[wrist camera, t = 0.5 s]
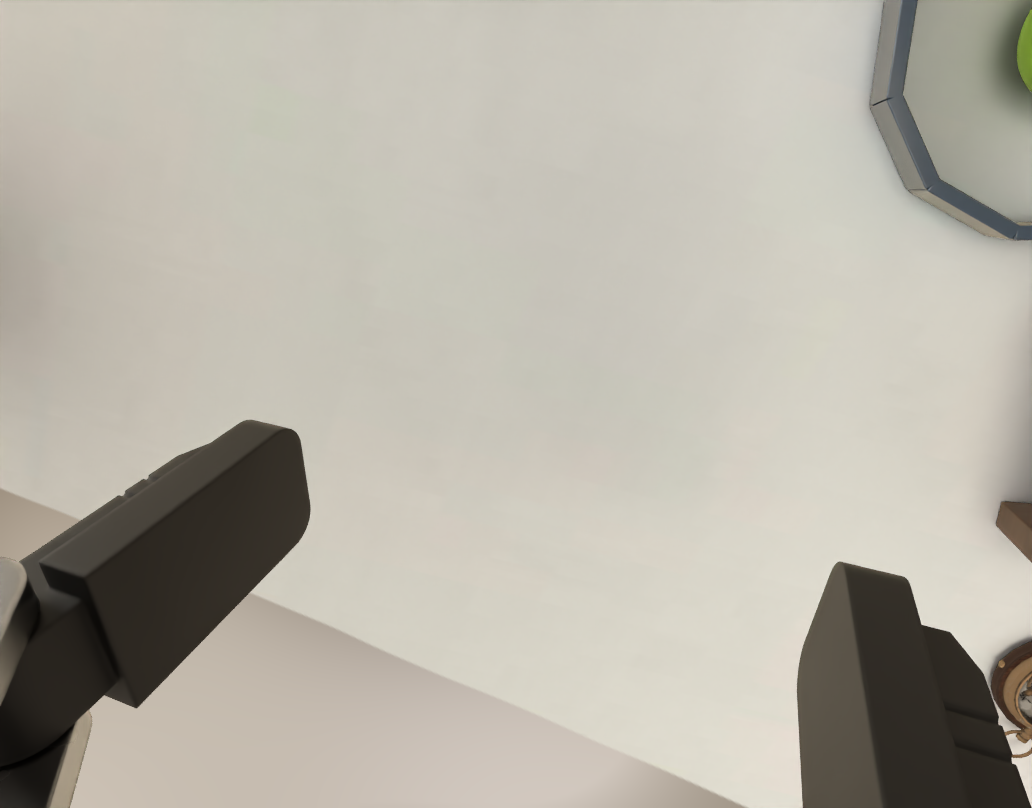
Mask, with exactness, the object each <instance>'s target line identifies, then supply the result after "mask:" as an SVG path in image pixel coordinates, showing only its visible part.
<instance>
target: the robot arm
mask: <svg viewBox="0 0 1032 808" xmlns="http://www.w3.org/2000/svg"><path fill="white" fill-rule="evenodd" d="M309 518H310V500H309V493H308V487H307V480H306V474H305V467H304V460H303V454H302V447H301V442H300V438H299V436H298V434H297V433H296V432H295V431H294V430H292V429H288V428H284V427H280V426H276V425H272V424H267V423H263V422H259V421H255V420H246V421H243V422H241V423H239V424H238V425H236V426H235V427H233V428H232V429H230V430H229V431H227V432H226V433H224V434H223V435H222V436H220V437H219V438H217V439H216V440H214V441H213V442H211V443H209V444H207V445H204V446H202V447H199V448H197V449H194V450H192V451H189V452H187V453H184V454H181V455H179V456H177V457H175V458H174V459H172V460H171V461H169V462H168V463H166V464H165V465H163V466H162V467H160V468H159V469H157V470H156V471H154V472H153V473H151V474H150V475H149V478H148V479H147V480H145V479H142V480H141V481H139V482H138V483H136V484H135V485H133V486H132V487H130V488H129V489H127V490H126V491H125V494H124V496H117V497H116V498H114V499H113V500H111V501H110V502H108V503H107V504H105V505H104V506H102V507H101V508H99V509H98V510H96V511H95V512H93V513H92V514H90V515H89V516H87V517H86V518H84V519H83V520H81V521H80V522H78V523H77V524H75V525H74V526H72V527H71V528H69V529H68V530H66V531H65V532H64V533H62V534H60V535H59V536H57V537H56V538H54V539H53V540H51V541H50V542H49V543H47V544H45V545H44V546H42V547H41V548H40V549H38V550H36V551H35V552H33V553H32V554H30V555H29V556H27V557H26V558H24V559H22V560H21V561H19V562H17V561H16V560H13V559H10V558H6V557H0V808H70V805H71V802H72V798H73V794H74V790H75V787H76V783H77V780H78V776H79V772H80V769H81V765H82V761H83V757H84V754H85V750H86V747H87V743H88V739H89V735H90V732H91V727H92V716H91V714H90V712H89V709H90V708H91V707H92V706H93V705H94V704H95V703H96V702H97V701H98V700H99V699H100V698H101V697H102V696H104V695H105V696H108V697H110V698H112V699H115V700H117V701H120V702H122V703H125V704H127V705H129V706H132V707H134V708H138V707H139V706H140V705H141V703H142V702H143V701H144V700H145V699H146V698H147V697H148V696H149V695H150V694H151V693H152V692H153V691H154V690H155V689H156V688H157V687H158V686H159V685H160V684H161V683H162V682H163V681H164V680H165V679H166V678H167V677H168V676H169V675H170V673H172V672H173V671H174V670H175V669H176V668H177V666H178V665H179V664H180V663H181V662H182V661H183V660H184V659H185V658H186V657H187V656H188V655H189V654H190V653H191V652H192V651H193V650H194V649H195V648H196V647H197V646H198V645H199V644H200V643H201V642H202V641H203V640H204V639H205V638H206V637H207V636H208V635H209V634H210V632H212V631H213V630H214V628H215V627H216V626H217V625H218V624H219V623H220V622H221V621H222V620H223V619H224V618H225V617H226V616H227V615H228V614H229V613H230V612H231V611H232V610H233V609H234V608H235V607H236V606H237V605H238V604H239V603H240V602H241V601H242V600H243V599H244V597H246V596H247V595H248V593H250V592H251V591H252V589H253V588H254V587H255V586H256V585H257V584H258V583H259V582H260V581H261V580H262V579H263V578H264V577H265V576H266V575H267V574H268V573H269V572H270V571H271V570H272V569H273V568H274V567H275V566H276V565H277V564H278V563H279V562H280V561H281V560H282V559H283V558H284V557H285V556H286V555H287V554H288V553H289V551H290V550H291V549H292V548H293V547H294V546H295V545H296V544H297V543H298V542H299V541H300V539H301V538H302V536H303V534H304V532H305V530H306V528H307V525H308V522H309ZM797 702H798V721H799V740H800V760H801V779H802V799H803V808H1031V805H1030V802H1029V800H1028V797H1027V794H1026V791H1025V788H1024V786H1023V783H1022V780H1021V777H1020V774H1019V772H1018V769H1017V766H1016V765H1014V764H1012V761H1011V758H1012V752H1011V749H1010V747H1009V744H1008V741H1007V738H1006V735H1005V733H1004V730H1003V727H1002V726H1000V725H998V718H999V716H998V713H997V710H996V708H995V705H994V702H993V699H992V696H991V694H990V691H989V688H988V685H987V682H986V680H985V677H984V674H983V673H982V671H981V670H980V669H979V668H978V666H977V665H976V664H975V663H974V661H973V660H972V659H971V658H970V656H969V655H968V654H967V653H966V651H965V650H964V649H963V648H962V646H961V645H960V644H959V643H958V641H957V640H956V639H955V638H954V636H953V635H952V634H951V633H950V632H947V631H943V630H939V629H935V628H931V627H928V626H924V625H921V622H920V618H919V615H918V611H917V607H916V604H915V600H914V597H913V593H912V590H911V586H910V584H909V582H908V580H907V579H906V578H905V577H902V576H898V575H894V574H890V573H886V572H881V571H877V570H873V569H869V568H865V567H861V566H856V565H852V564H848V563H844V562H838V563H836V564H835V566H834V567H833V569H832V571H831V574H830V576H829V579H828V581H827V584H826V587H825V589H824V592H823V595H822V597H821V600H820V603H819V605H818V608H817V610H816V613H815V616H814V618H813V621H812V624H811V626H810V629H809V632H808V634H807V637H806V640H805V642H804V645H803V649H802V653H801V657H800V663H799V669H798V679H797Z"/></svg>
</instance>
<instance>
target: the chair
mask: <svg viewBox="0 0 1032 808" xmlns="http://www.w3.org/2000/svg"><path fill="white" fill-rule="evenodd" d="M996 526H997V527H998V528H999V529H1000V530H1001V531H1002V532H1003V533H1004V534H1005V535H1006V536H1007V537H1008V538H1009V539H1010V540H1011V542H1012V543H1013V544H1014V545H1015V546H1016V547H1017V548H1018V549H1019V550H1020V551H1021V552H1022V553H1023V554H1024V555H1025V556H1026V557H1027V558H1028V559H1029V560H1030V561H1031V562H1032V504H1029V503H1016V502H1002V503H1001V507H1000V511H999V515H998V519H997V523H996Z"/></svg>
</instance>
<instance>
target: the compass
mask: <svg viewBox="0 0 1032 808" xmlns="http://www.w3.org/2000/svg"><path fill="white" fill-rule="evenodd" d="M991 689H992V693H993V697H994V700H995V702H996V703H997V705H998V706H999V708H1000V709H1001V711H1002V712H1003V714H1004V715H1005V716H1006V718H1007V719H1008V720H1009V721H1011V722H1012V723H1013V724H1015V725H1016V726H1017V727H1019V728H1020V729H1021V730H1011V731H1007V732H1004V733H1005V735H1009V734H1012V733H1017V735H1016V737H1017V738H1018V740H1020V741H1021V742H1023V743H1027V742H1028V741H1029V739H1032V642H1028V643H1026V644H1024V645H1022V646H1020V647H1018V648H1016V649H1014V650H1012V651H1011V652H1010V653H1009V654H1008V655H1007V656H1005V657H1004V658H1003V659H1002V660H1000V661H999V663H998V666H997V667H996V669H995V671H994V673H993V676H992V683H991ZM1023 728H1024V729H1023ZM1031 753H1032V748H1031V750H1030V751H1028V752H1027V753H1024V754H1021V755H1013V754H1012V757H1013V758H1022V757H1026V756H1029V755H1030V754H1031Z"/></svg>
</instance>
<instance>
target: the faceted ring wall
mask: <svg viewBox="0 0 1032 808" xmlns="http://www.w3.org/2000/svg"><path fill="white" fill-rule="evenodd" d="M917 2H918V0H886V1H885V2H884V7H883V14H882V21H881V28H880V35H879V42H878V49H877V56H876V63H875V70H874V77H873V84H872V91H871V98H870V106H871V107H870V110H871V112H872V114H873V116H874V119H875V121H876V123H877V125H878V128H879V130H880V132H881V134H882V137H883V139H884V141H885V143H886V146H887V148H888V150H889V152H890V154H891V157H892V159H893V161H894V163H895V166H896V168H897V170H898V172H899V175H900V177H901V179H902V181H903V184H904V186H905V188H906V189H908V191H909V192H910V193H912V194H914V195H916V196H917V197H919V198H921V199H923V200H924V201H926V202H928V203H929V204H931V205H933V206H935V207H936V208H938V209H940V210H941V211H943V212H945V213H947V214H948V215H950V216H952V217H953V218H955V219H957V220H959V221H960V222H962V223H964V224H966V225H967V226H969V227H971V228H972V229H974V230H976V231H978V232H979V233H981V234H983V235H986V236H989V237H996V238H1003V239H1010V240H1032V222H1013V221H1012V220H1010V219H1008V218H1006V217H1005V216H1003V215H1001V214H999V213H998V212H996V211H994V210H993V209H991V208H989V207H987V206H986V205H984V204H982V203H981V202H979V201H977V200H975V199H974V198H972V197H970V196H968V195H967V194H965V193H963V192H962V191H960V190H958V189H956V188H955V187H953V186H951V185H949V184H948V183H946V182H944V181H943V180H941V179H940V178H939V176H938V174H937V171H936V169H935V167H934V165H933V162H932V160H931V158H930V155H929V153H928V151H927V148H926V146H925V144H924V142H923V139H922V137H921V135H920V132H919V130H918V128H917V126H916V123H915V121H914V119H913V116H912V114H911V112H910V109H909V107H908V105H907V103H906V100H905V98H904V96H903V90H904V84H905V78H906V71H907V65H908V59H909V52H910V46H911V40H912V33H913V27H914V21H915V14H916V8H917Z"/></svg>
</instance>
